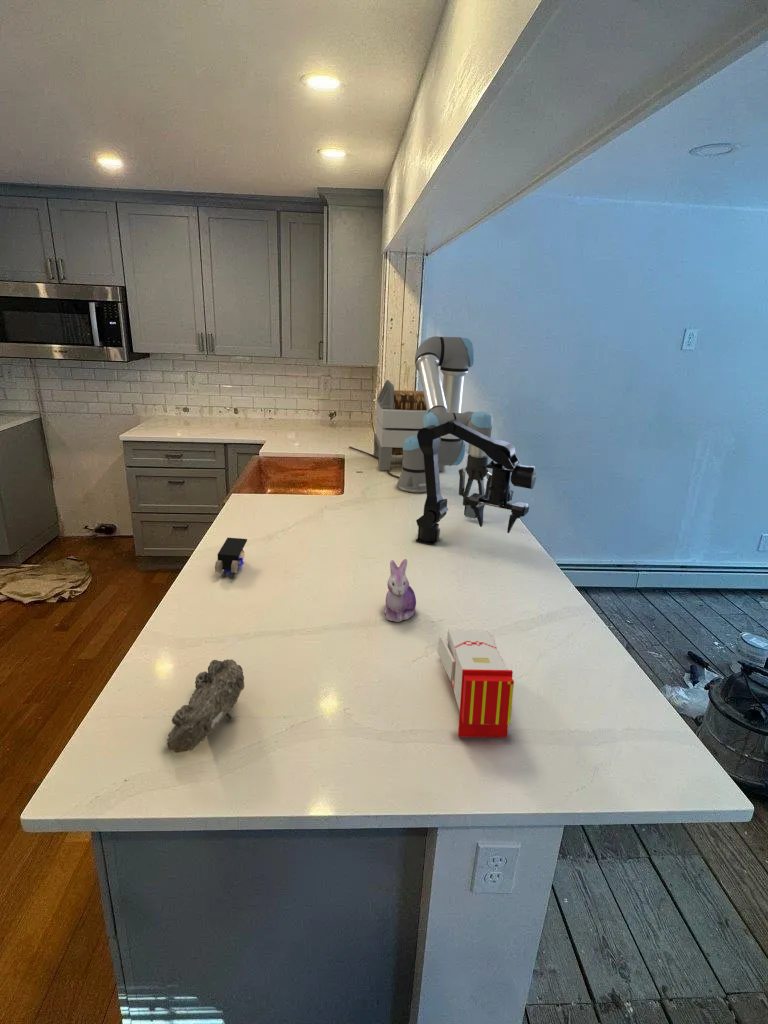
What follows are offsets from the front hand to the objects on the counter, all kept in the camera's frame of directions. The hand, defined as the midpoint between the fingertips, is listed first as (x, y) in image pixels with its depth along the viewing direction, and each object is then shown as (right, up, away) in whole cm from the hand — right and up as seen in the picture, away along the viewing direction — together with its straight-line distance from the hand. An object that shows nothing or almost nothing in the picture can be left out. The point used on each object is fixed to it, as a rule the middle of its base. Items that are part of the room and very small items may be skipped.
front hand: (494, 529), depth 182 cm
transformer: (-24, +31, +110) cm, 117 cm away
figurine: (-32, -21, -35) cm, 52 cm away
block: (-2, +4, +32) cm, 32 cm away
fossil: (-68, -34, -74) cm, 106 cm away
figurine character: (-81, -11, -15) cm, 83 cm away
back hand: (-2, +4, +32) cm, 32 cm away
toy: (-18, -32, -64) cm, 74 cm away
